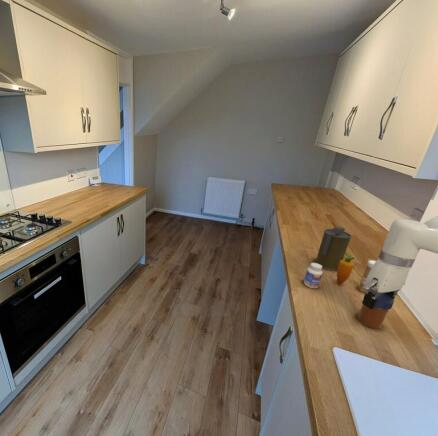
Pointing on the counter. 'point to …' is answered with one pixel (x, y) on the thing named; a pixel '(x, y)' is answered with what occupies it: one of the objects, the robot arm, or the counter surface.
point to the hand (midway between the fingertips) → (376, 304)
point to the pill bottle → (313, 275)
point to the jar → (372, 316)
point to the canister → (333, 248)
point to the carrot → (345, 268)
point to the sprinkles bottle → (368, 268)
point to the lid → (383, 301)
